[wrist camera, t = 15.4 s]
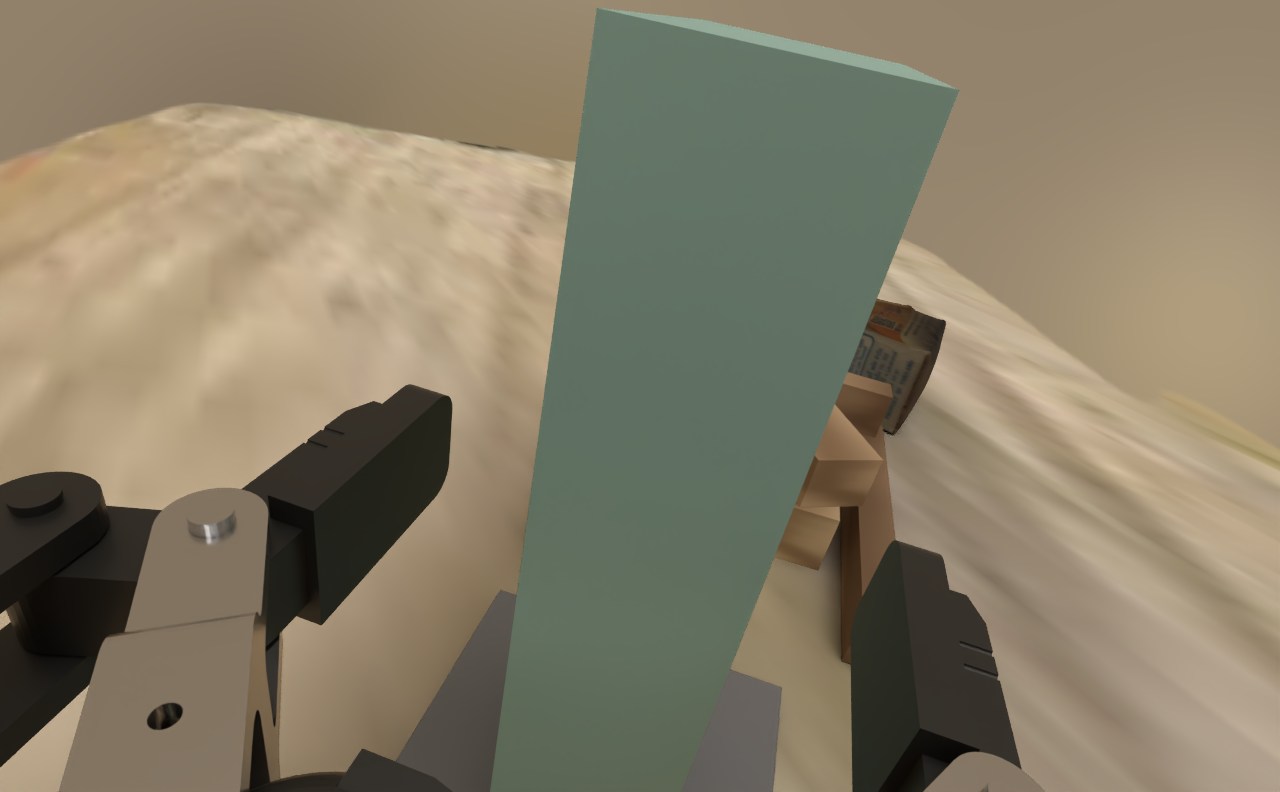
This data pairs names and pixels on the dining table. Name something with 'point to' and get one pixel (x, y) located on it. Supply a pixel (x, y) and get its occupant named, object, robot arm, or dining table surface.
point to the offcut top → (840, 467)
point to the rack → (873, 521)
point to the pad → (472, 700)
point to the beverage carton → (898, 355)
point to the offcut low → (808, 535)
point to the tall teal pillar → (692, 373)
